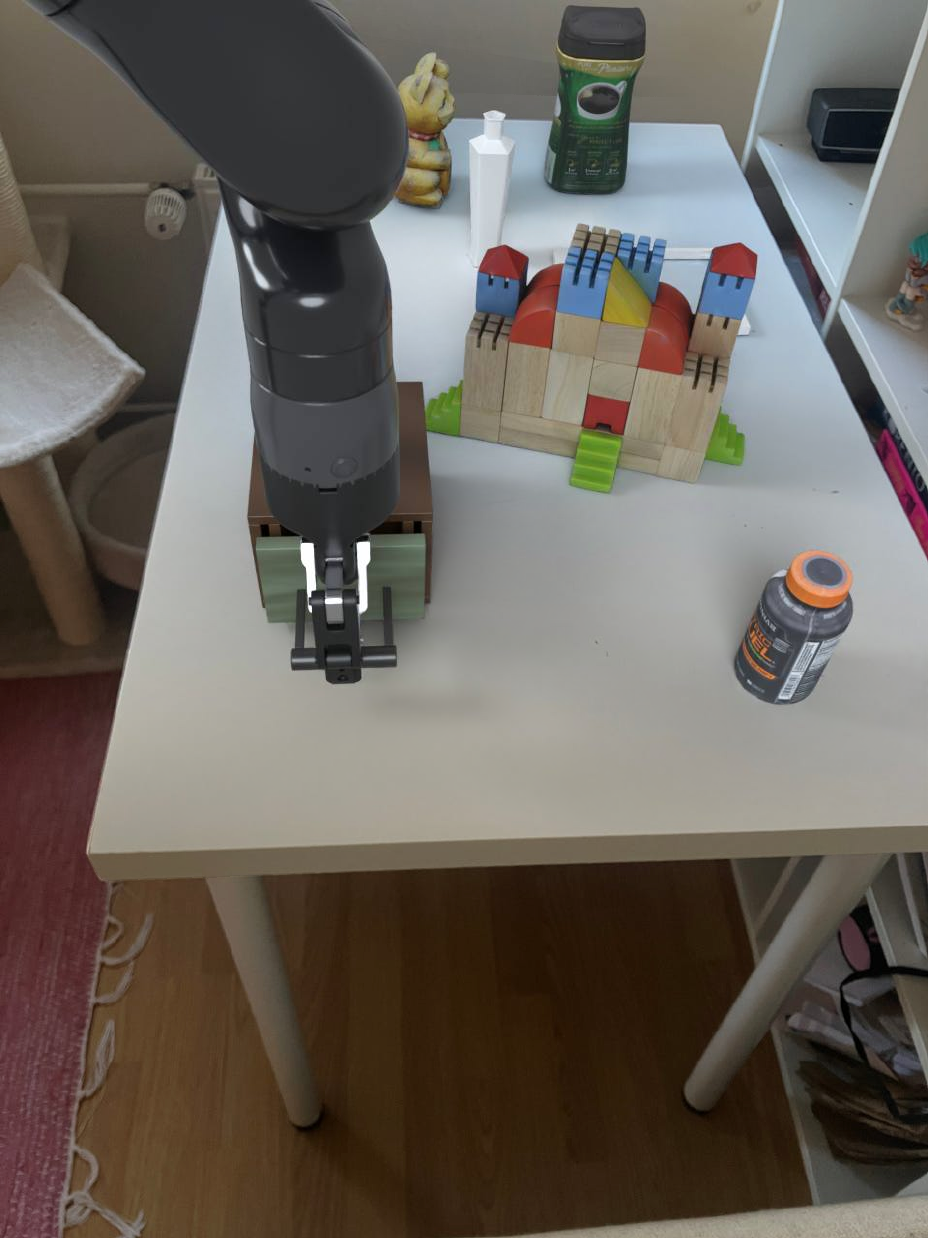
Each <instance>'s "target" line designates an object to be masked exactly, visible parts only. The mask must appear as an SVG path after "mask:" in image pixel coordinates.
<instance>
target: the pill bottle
mask: <svg viewBox="0 0 928 1238" xmlns="http://www.w3.org/2000/svg"><path fill="white" fill-rule="evenodd" d="M853 579H854V577H853V573H852V571H851V569H850V566H849V565H848V564H847V563H846V562H845V561H844V560H842V559H841V558H840V557H838V556H837V555H835V554H833V553H830V552H828V551H824V550H814V549H813V550H812V549H811V550H806V551H803V552H800V553H799V554H796V556H795V557H793V559H792V561H791V563H790V565H789V567H786V568H783V569H780V570H778V571H777V572H775V573H774V574H773V575H772V576H771V577H770V578H769V579H768V580H767V582H766V583H765V585H764V588H763V590H762V593H761V595H760V598H759V600H758V602H757V604H756V607H755V610H754V612H753V615H752V617H751V618H750V622H749V624H748V626H747V628H746V631H745V633H744V636H743V638H742V640H741V642H740V645H739V647H738V650H737V651H736V655H735V656H734V661H733V668H734V672H735V676H736V679H737V680H738V681H739V683H740V685H741V686H742V687H743V688H744V690H745V691H747V692H748V693H749V694H750V695H752V696H753V697H755V698H756V699H758V700H761V701H763V702H765V703H767V704H772V705H777V706H789V705H794V704H798V703H800V702H802V701H804V700H805V699H807V698H808V697H809V696H810V695H811V694H812V692H813V691H814V689H815V687H816V686H817V684H818V682H819V680H820V679H821V676H822V675H823V672H824V671H825V670H826V667H827V665H828V663H829V662H830V659H832V658H831V657H832V656H833V654H834V653H835V650H836V649H837V647H838V645H839V643H840V641H841V639H842V638H843V636H844V634H845V633H846V630H847V628H848V627H849V625H850V623H851V621H852V619H853V614H854V602H853V601H854V600H853V598H852V595H851V593H850V590H851V588H852V585H853V581H854V580H853Z"/></svg>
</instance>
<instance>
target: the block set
mask: <svg viewBox="0 0 928 1238" xmlns="http://www.w3.org/2000/svg"><path fill="white" fill-rule="evenodd" d="M635 237H636V236H635V234H634V233H629V232H623V233H622V231H621V230H619V229H613V228H609V231H608V233H607V229H606V227H602V226H597V225H593V227H592V229H591V230H590V225H589V224H586V223H579V222H578V223H577V225H576V228H575V231H574V233H573V236H572V239H571V241H570V245H569V247H568V248H569V250H568V254H567V257H566V259H565V263H560V264H555V265H553V264H552V265H549V266H547V267H544V268H543V269H540V270H539V271H538V272H536V274H534V275H533V276H532V278H531V279H530V280H529V282H528V271H529V265H530V264H529V263H530V258H529V256H528V255H526V254H524V253H523V252H521V251H519V250H517V249H515V248H513V247H511V246H509V245H508V244H501V246H497V247H494V248H490V249H488V250H487V252H486V254H485V256H484V258H483V260H482V262H481V264H480V266H479V267H478V269H477V274H476V287H475V288H476V289H475V306H474V309H475V312H474V313H473V316H472V320H471V321H470V324H469V327H468V329H467V332H466V334H465V344H464V355H463V356H464V359H463V371H462V372H463V374H462V379H460V381H459V382H458V385H457V386H453V385H450V386H449V389H448V391H447V392H444V391H440V393H439V395H438V397H437V398H434V397H432V398H430V399H429V400H428V402H427V405H426V407H425V418H426V431H431V432H436V433H441V434H446V435H449V436H455V437H458V436H461V437H466V438H470V439H476V440H481V441H485V442H491V443H497V444H498V443H499V444H503V445H507V446H511V447H516V448H517V447H518V448H522V449H527V450H532V451H537V452H543V453H549V454H552V455H553V454H554V455H558V456H562V457H567V458H574V462H573V467H572V471H571V475H570V480H569V485H570V486H572V487H576V488H581V489H585V490H590V491H596V492H600V493H606V494H610V493H611V491H612V485H613V481H614V477H615V474H616V469H617V468H620V469H625V470H630V471H634V472H640V473H645V474H650V475H655V476H657V477H660V478H665V479H671V480H674V481H681V482H686V483H691V484H696V483H697V482H698V480H699V477H700V474H701V471H702V467H703V465H704V461H705V460H707V461H713V462H717V463H723V464H728V465H733V466H739V467H740V466H741V465H742V463H743V461H744V455H745V439H746V436H745V434H744V433H740V432H737V431H738V425H737V424H736V423H730V415H729V414H725V413H722V409H723V408H722V402H723V399H724V396H725V393H726V389H727V386H728V381H729V378H728V377H729V371H730V366H731V357H732V355H733V351H734V347H735V344H736V342H737V338H738V336H739V335H738V332H739V328H740V325H741V321H742V319H743V317H744V314H745V315H746V312H747V308H748V305H749V302H750V299H751V296H752V292H753V289H754V286H755V283H756V277H757V268H758V267H757V266H758V258H759V257H758V254H757V253H756V252H755V251H754V250H752V249H751V248H749V247H748V246H747V245H745V244H744V243H742V242H740V241H738V242H733V243H728V244H725V245H719V246H714V247H713V248H714V249H712V252H711V256H710V259H708V263H707V266H706V270H705V274H704V276H703V280H702V285H701V289H700V293H699V298H698V302H697V306H696V308H695V312H694V313H693V310H692V307H691V304H690V303H689V300H688V299H687V298H686V296H685V295H684V294H683V293H682V292H681V290H679V289H678V288H676V287H675V286H673V285H671V284H669V283H668V282H667V283H666V282H664V281H660V279H661V274H662V270H663V265H664V260H665V259H664V254H665V248H667V241H668V240H667V239H664V238H655V240H654V243H653V245H652V246H653V247H652V248H653V250H652V251H650V250H649V248H651V240H652V239H651V238H652V237H651V236H648V235H640V236H639V238H638V241H637V244H636V246H635V239H636V238H635Z"/></svg>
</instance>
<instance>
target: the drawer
mask: <svg viewBox="0 0 928 1238" xmlns="http://www.w3.org/2000/svg"><path fill="white" fill-rule="evenodd" d="M268 526H269V532H270V537H257V540H256V554H257V560H258V566H259V572H260V578H261V584H262V590H263V596H264V602H265V608H264V609H265V614H266V620H267V624H275V623H276V624H278V623H279V624H280V623H283V624H284V623H295V626H294V627H295V629H294V647H293V648H292V647H291V649H290V668H291V671H292V672H299V671H319V670H318V664H315V655H316V647H305V641H306V640H305V636H306V623H313V619H312V613H311V612H310V611H309V608H308V592H307V572H306V567H305V566H304V564H303V563H302V560H301V535H299V534H296V533H294V532H292V531H290V530H289V529H287V528H286V527H284V526H283V525H282V524H268ZM367 533H370V552H371V555H370V561H369V563H368V564H367V588H368V607H367V609H366V611H365V612H363V613H361V614H360V621H381V620H383V645H361V650H360V652H361V654H362V653H363V662H361V669H385V668H388V669H389V668H397V667H398V649H397V645H396V644H394V627H393V620H412V619H413V620H414V619H425V604H424V600H425V558H426V542H425V534H424V533H423V534H414V521H401V522H383V523H382V524H380V525H379V526H377V527H376V528H374V529H373V530H371V531H369V532H367ZM317 586H318V590H325V584H323V583H322V582H321V581H320V579H319V578H318V576H317ZM343 587H344V589H357V592H358V579H356V580H355V581H354V582H353V583H352V584H350V585H343Z"/></svg>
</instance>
